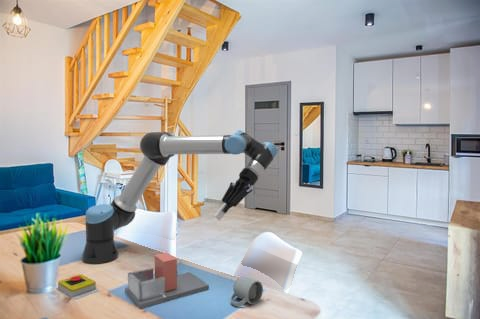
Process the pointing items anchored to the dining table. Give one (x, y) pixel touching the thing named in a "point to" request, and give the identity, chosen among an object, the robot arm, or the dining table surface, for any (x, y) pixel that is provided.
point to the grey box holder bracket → (145, 284)
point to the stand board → (174, 290)
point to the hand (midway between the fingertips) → (217, 217)
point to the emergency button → (77, 286)
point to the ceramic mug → (247, 291)
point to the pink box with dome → (166, 270)
